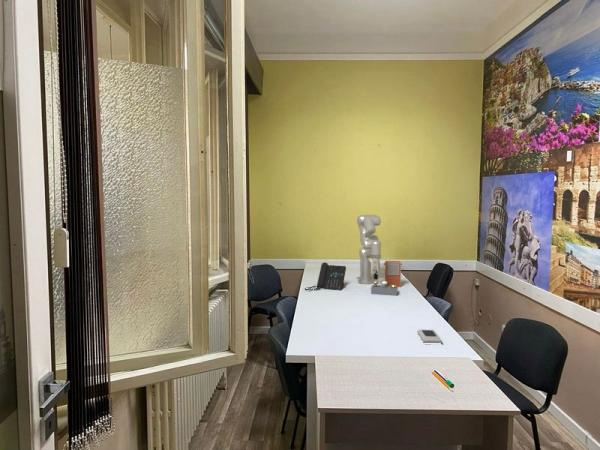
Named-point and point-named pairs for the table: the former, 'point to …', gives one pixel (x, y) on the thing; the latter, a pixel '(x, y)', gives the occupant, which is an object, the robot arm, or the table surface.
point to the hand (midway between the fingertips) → (375, 279)
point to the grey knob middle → (384, 283)
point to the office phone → (331, 277)
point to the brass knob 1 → (375, 283)
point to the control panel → (393, 273)
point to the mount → (384, 290)
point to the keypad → (429, 336)
